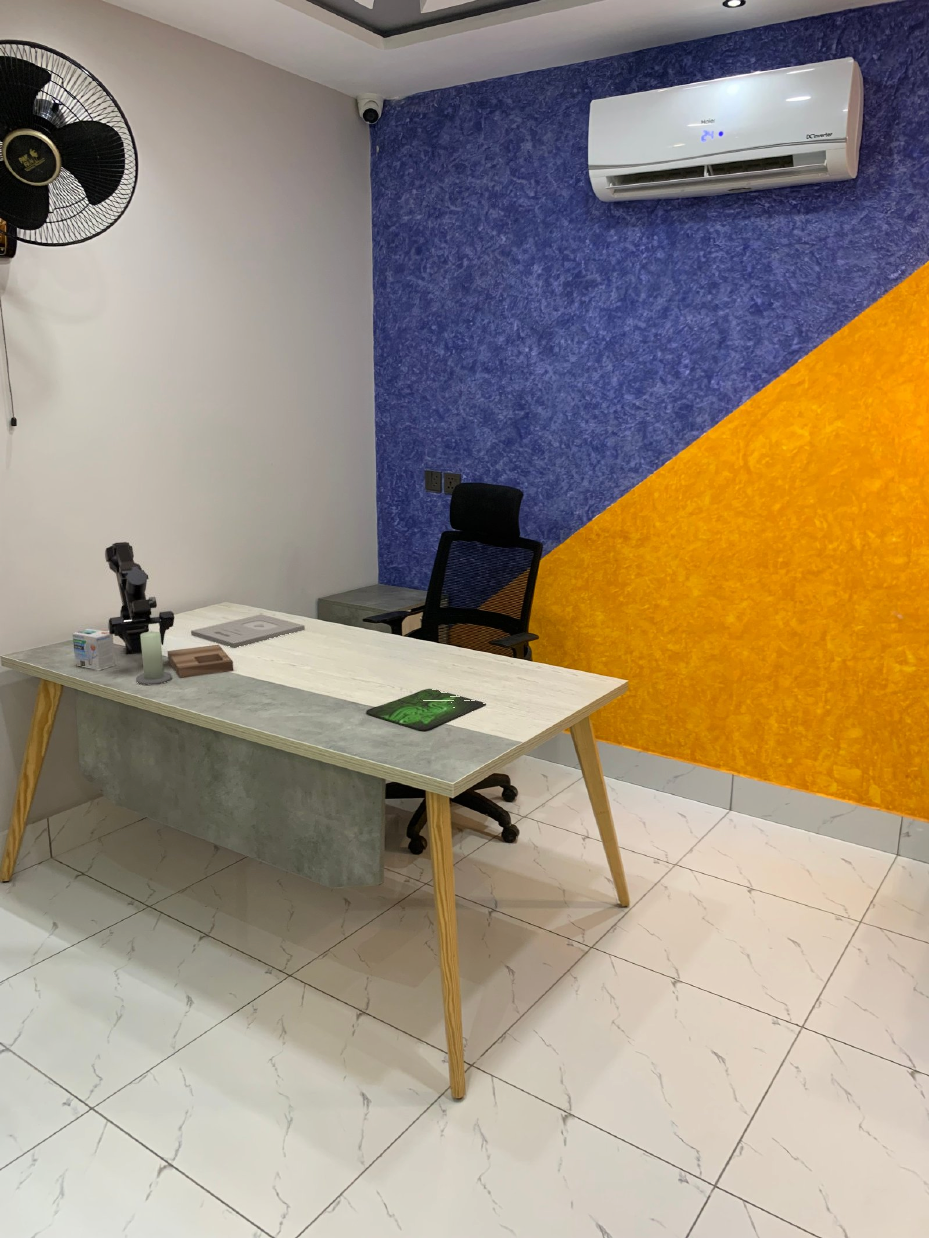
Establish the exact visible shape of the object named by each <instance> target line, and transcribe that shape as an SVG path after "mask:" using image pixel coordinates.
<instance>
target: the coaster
mask: <svg viewBox="0 0 929 1238" xmlns="http://www.w3.org/2000/svg"><path fill="white" fill-rule="evenodd" d="M172 677H173V676H172V673H170V672H168V671H164V677H162V678H159V679H153V680H149V679H145V678H144V673H141V674H139V675H137V676H136V678H135V681H136V683H137V682H138V683H139V684H138V683H137V684H138V685H140V684H145V685H144V686H149V685H148V684H159V685H162V684H161V683H163V684H165V683H164V682H166V683H168V682H167V681H169V682H170V681H171V680H172V679H173V678H172Z"/></svg>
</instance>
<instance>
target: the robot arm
mask: <svg viewBox="0 0 929 1238" xmlns="http://www.w3.org/2000/svg"><path fill="white" fill-rule="evenodd" d="M133 549H134V548H133V545H130V543H129V542H127V541H121V542H115V543H112V545H110V546H109V547H106V548H105V551H104V556H105V557H104V558H105V562H106V563H107V564H108V568H109V570H111V571H112V572H114V574H115V576H116V577H115V578H116V581H117V585H118V590H119V591H118V592H119V595H120V600H121V607H120V612H119V616H115V617H110V618H109V619H108V623H107V624H108V625H107V627H108V628H107V629H108V632H109V634H113V635H114V637H119V638H120V640H122V641H123V643H124V645H125V646H124V648H123V652H124V654H125V655H133V654H140V653H141V654H142V647H141V636H140V635H141V634H142V633H146V632H150V628H149V627H150V626H149V625H156V624H157V625H158V626H159V629H158V630H159V631H158V632H159V633H160V636H161V646H164V642H165V634H166V631H168V630H169V629H170V628H172V627H174V623H175V614H174V612H173V611H171V610H167V611H166V610H165V611H159V613H158V616H153V617H151V616H152V609H156V608H157V607H158V604H157V597H156V596H149V597H148V599H147V596H146V590H147V582H148V580H149V575H148V573H146V571H145V570H144V569H142V567H141V565H140V564H139V563H136V562H135V561H134V557H135V556H134V550H133Z"/></svg>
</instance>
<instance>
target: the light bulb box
mask: <svg viewBox="0 0 929 1238" xmlns="http://www.w3.org/2000/svg"><path fill="white" fill-rule="evenodd" d="M113 635H114V634H109V631H105V630H99V629H94V628H86V629H84V630H79V631H76V632H73V633H72V641H73V650H74V659H75V660H74V662H75V665H76V664H77V665H80V666H86V667H91V668H94V669H104V668H105V667H110V666H113V665H115V664H116V656H115V654H116V653H115V646H114V636H113ZM113 667H114V666H113ZM110 668H111V667H110ZM104 670H105V669H104Z"/></svg>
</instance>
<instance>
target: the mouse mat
mask: <svg viewBox="0 0 929 1238" xmlns="http://www.w3.org/2000/svg"><path fill="white" fill-rule="evenodd" d="M432 689H433V688H425V689H422V690H419V691H417V692H414V693H411V694H408V695H406V696H404V697H400V698H398V699H395V700H392V701H389V702H386V703H384V704H381V705H377V706H374V707H371V708H369V709H367V710H366V711H365V714H367V715H368V716H371V717H373V718H377V719H380V718H381V719H380V720H384V721H388V722H391V723H393V724H397V725H399V726H400V725H401V726H403V727H406V728H411V729H413V730H417V731H422V732H423V731H428V730H429V731H430V730H432V729H434V728H437V727H439V726H442V725H444V723H445V724H447V723H449V722H451V720H452V721H454V720H456V719H459V718H461V717H462V716H463V717H464V716H465V715H468V714H470V713H472V711H473V712H474V711H476V710H478V709H481V708H483V707H485V706H487V703H485V702H484V701H479V700H477V699H472V698H469V697H465V696H462V695H457V694H454V693H450V692H447V693H441V692H440V691H441V690H440V691H439V689H436V690H432ZM456 695H457V696H460V697H450V696H456ZM423 700H454V701H423ZM464 700H470V701H464ZM471 700H475V701H471ZM451 702H452V703H451ZM483 703H485V704H483ZM453 707H455V708H453ZM458 717H459V718H458Z"/></svg>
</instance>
